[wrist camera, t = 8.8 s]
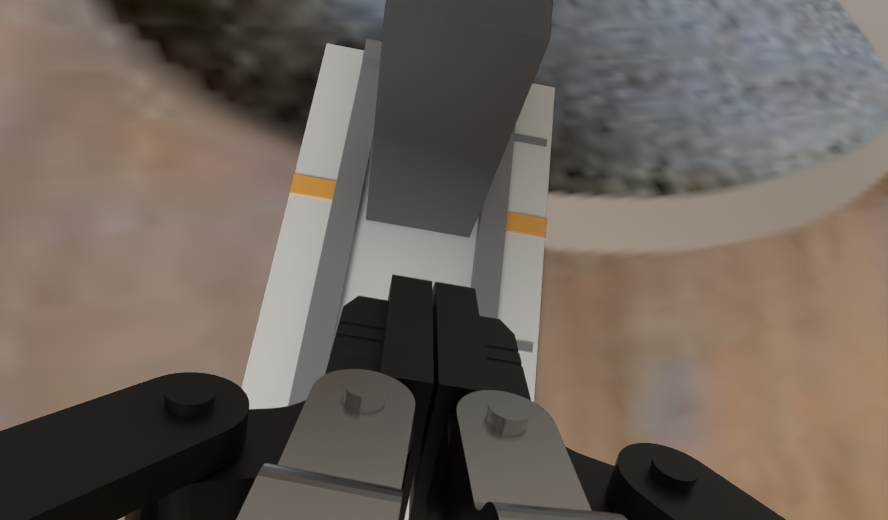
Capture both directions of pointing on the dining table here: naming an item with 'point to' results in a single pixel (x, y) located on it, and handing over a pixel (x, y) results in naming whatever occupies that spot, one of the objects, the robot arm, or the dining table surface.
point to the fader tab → (449, 105)
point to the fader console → (390, 236)
